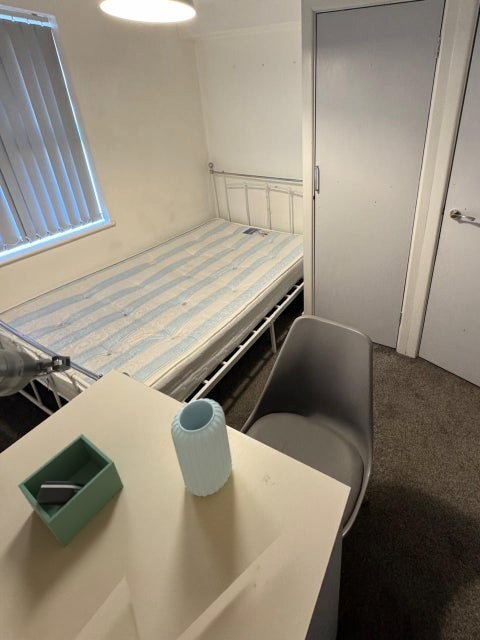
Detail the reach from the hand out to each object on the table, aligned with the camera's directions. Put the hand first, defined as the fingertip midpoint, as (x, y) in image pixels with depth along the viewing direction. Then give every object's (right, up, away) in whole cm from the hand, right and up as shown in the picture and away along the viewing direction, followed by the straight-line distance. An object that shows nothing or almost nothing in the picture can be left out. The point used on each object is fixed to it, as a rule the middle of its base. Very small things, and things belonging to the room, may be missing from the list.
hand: (40, 372), depth 69 cm
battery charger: (+4, -32, +6) cm, 32 cm away
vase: (+33, -30, +11) cm, 46 cm away
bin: (+4, -32, +7) cm, 33 cm away
